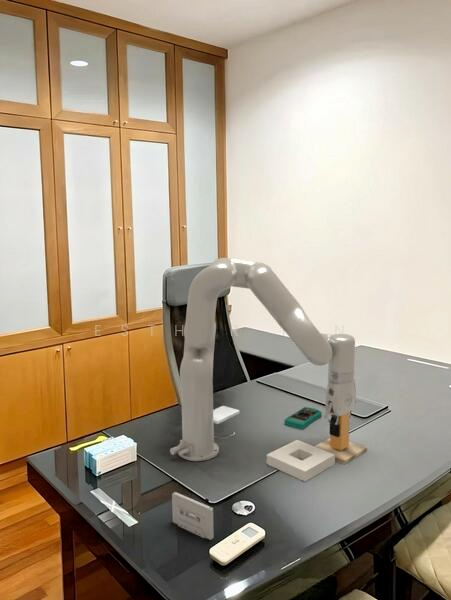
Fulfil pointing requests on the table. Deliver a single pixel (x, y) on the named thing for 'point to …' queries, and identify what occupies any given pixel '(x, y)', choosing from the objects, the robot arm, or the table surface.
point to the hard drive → (223, 414)
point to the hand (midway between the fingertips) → (339, 432)
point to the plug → (341, 433)
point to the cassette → (194, 523)
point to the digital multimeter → (303, 418)
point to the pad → (343, 451)
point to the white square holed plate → (292, 465)
